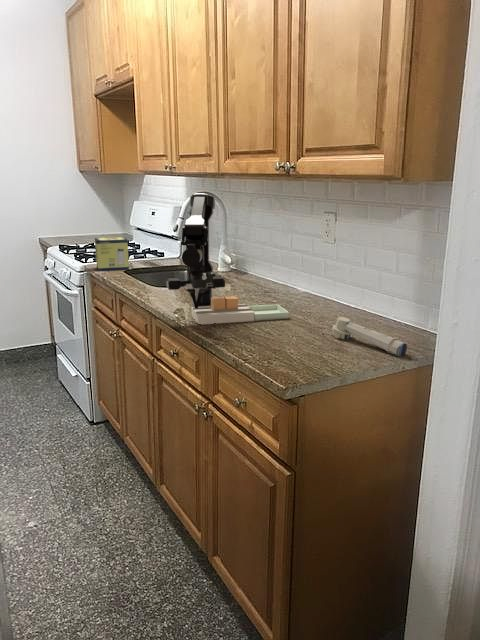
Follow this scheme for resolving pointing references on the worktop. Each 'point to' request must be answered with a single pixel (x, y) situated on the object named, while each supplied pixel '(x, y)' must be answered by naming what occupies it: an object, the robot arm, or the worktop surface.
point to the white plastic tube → (368, 336)
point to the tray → (269, 312)
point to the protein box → (112, 254)
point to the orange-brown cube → (217, 303)
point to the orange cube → (231, 302)
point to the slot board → (222, 315)
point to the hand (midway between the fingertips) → (196, 308)
